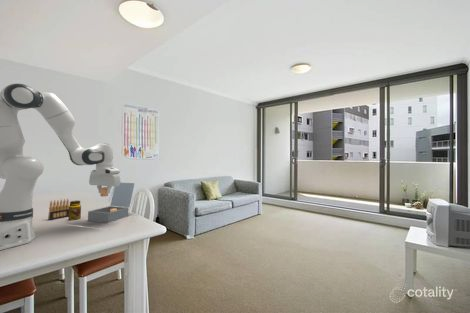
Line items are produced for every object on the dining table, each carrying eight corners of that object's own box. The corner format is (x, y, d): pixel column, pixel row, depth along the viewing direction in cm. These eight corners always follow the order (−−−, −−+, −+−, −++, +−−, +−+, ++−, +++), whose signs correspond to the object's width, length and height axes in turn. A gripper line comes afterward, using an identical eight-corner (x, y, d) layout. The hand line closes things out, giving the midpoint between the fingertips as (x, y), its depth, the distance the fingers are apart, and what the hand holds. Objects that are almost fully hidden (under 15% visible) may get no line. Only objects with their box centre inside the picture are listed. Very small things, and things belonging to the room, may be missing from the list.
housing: (108, 224, 126) (108, 213, 126) (87, 222, 130) (88, 211, 130) (128, 217, 142) (128, 207, 142) (109, 215, 145) (109, 206, 146)
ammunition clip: (49, 220, 132) (50, 200, 132) (48, 220, 133) (48, 200, 133) (69, 216, 142) (70, 198, 142) (68, 216, 142) (68, 198, 143)
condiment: (77, 222, 130) (77, 202, 130) (61, 222, 129) (62, 202, 129) (83, 218, 137) (84, 199, 137) (69, 219, 136) (70, 200, 136)
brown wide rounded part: (104, 196, 127) (104, 188, 127) (98, 196, 128) (98, 187, 128) (109, 195, 131) (109, 187, 131) (104, 195, 132) (104, 186, 132)
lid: (133, 183, 146) (135, 183, 148) (115, 182, 150) (117, 182, 152) (128, 207, 142) (130, 207, 143) (110, 205, 146) (112, 205, 147)
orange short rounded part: (113, 217, 137) (113, 209, 137) (108, 217, 138) (108, 209, 138) (118, 216, 141) (118, 208, 141) (113, 215, 142) (113, 208, 142)
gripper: (86, 170, 129) (86, 193, 129) (113, 171, 124) (113, 195, 124) (95, 169, 135) (95, 191, 135) (122, 170, 130) (121, 193, 130)
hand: (104, 193), depth 129 cm, fingers closed on brown wide rounded part, 4 cm apart
